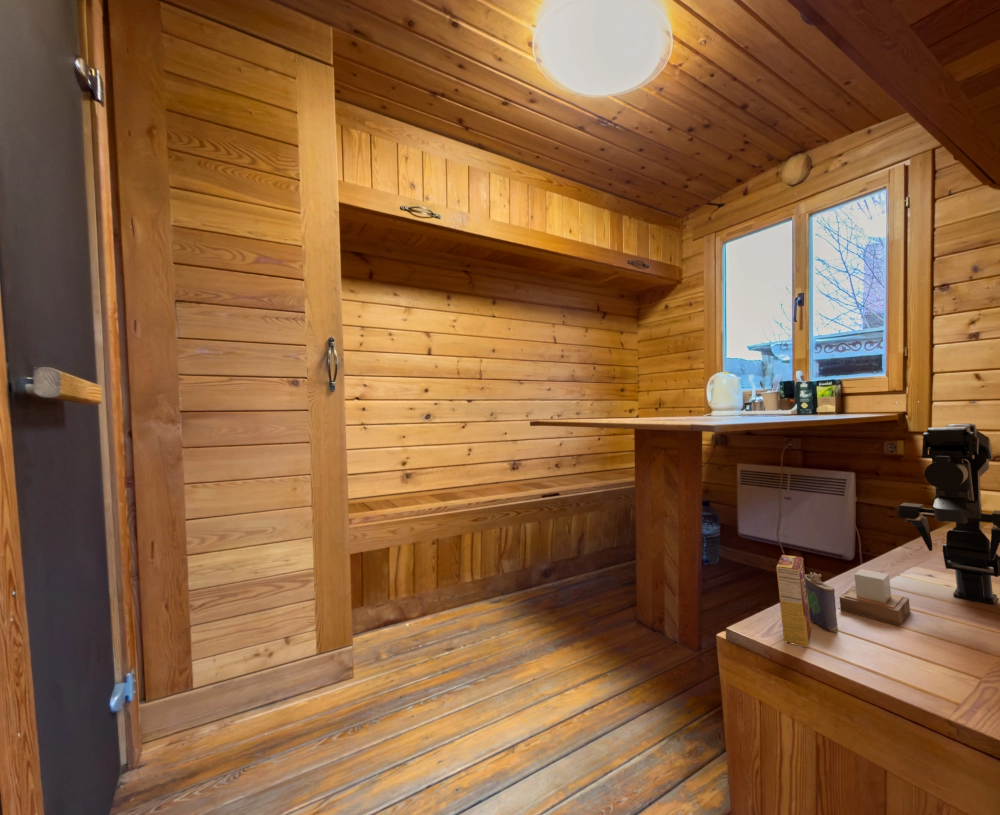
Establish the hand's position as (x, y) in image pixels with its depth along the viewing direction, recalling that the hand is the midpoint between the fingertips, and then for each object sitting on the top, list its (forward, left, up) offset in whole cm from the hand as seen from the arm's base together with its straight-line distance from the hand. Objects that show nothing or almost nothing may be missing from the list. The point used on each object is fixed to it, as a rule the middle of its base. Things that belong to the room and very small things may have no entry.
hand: (960, 554), depth 92 cm
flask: (+26, -19, -13) cm, 35 cm away
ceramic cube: (+11, -13, -10) cm, 20 cm away
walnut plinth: (+11, -13, -13) cm, 21 cm away
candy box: (+36, -20, -13) cm, 43 cm away
